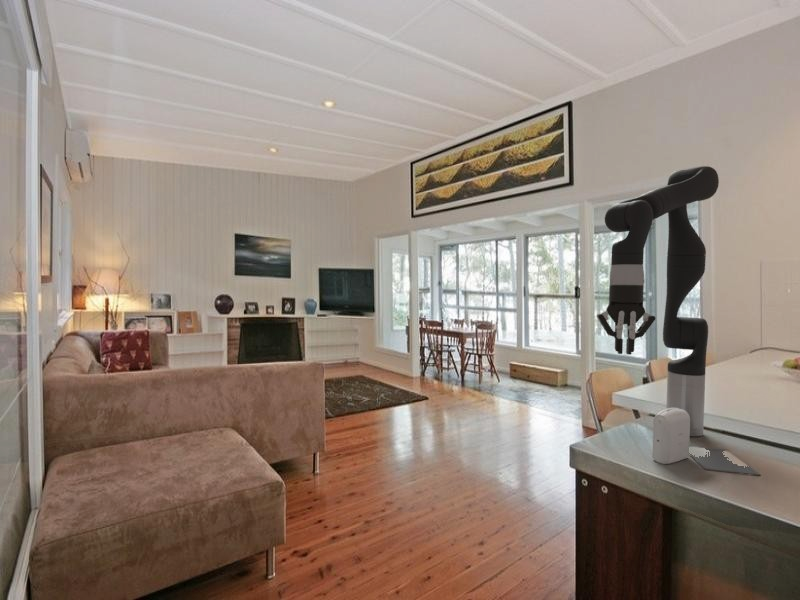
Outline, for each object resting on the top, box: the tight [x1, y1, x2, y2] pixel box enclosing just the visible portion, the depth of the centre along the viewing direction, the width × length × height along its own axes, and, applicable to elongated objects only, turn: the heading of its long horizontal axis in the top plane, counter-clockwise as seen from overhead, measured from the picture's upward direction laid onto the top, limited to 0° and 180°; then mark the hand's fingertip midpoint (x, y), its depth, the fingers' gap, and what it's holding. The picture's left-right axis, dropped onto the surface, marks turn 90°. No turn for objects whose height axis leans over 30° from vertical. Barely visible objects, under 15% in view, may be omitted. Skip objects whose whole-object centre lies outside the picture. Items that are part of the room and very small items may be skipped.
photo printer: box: [651, 408, 691, 465], centre depth 106 cm, size 10×4×12 cm, turn 119°
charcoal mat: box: [689, 445, 761, 477], centre depth 106 cm, size 16×11×1 cm
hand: (624, 353), depth 109 cm, fingers closed
